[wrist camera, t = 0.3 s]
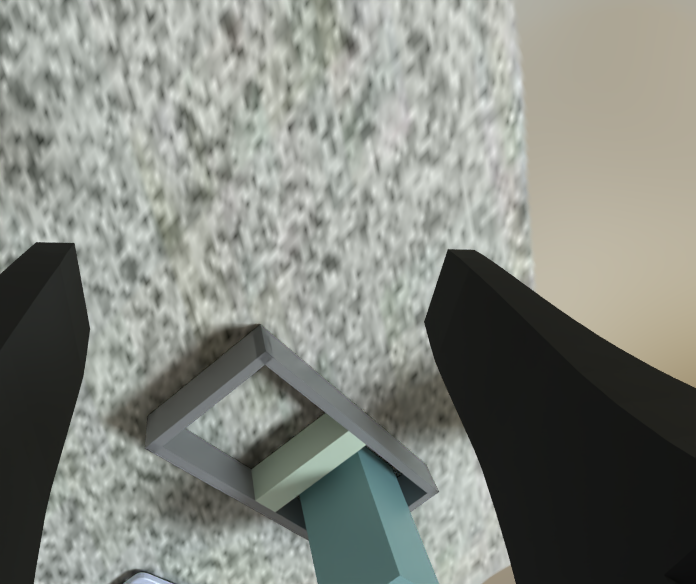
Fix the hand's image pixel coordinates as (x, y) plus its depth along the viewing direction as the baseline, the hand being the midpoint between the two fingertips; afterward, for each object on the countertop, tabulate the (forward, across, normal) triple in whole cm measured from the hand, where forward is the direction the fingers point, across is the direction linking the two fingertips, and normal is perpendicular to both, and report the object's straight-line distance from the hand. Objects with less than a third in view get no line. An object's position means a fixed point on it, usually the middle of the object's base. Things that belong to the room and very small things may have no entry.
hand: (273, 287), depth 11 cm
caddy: (+8, -4, +17) cm, 19 cm away
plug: (+8, -6, +20) cm, 22 cm away
